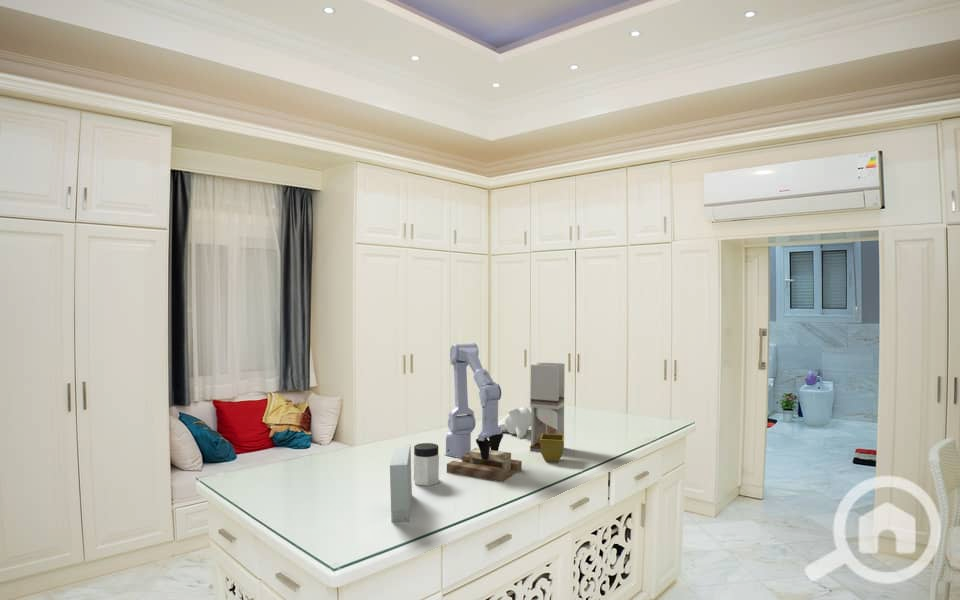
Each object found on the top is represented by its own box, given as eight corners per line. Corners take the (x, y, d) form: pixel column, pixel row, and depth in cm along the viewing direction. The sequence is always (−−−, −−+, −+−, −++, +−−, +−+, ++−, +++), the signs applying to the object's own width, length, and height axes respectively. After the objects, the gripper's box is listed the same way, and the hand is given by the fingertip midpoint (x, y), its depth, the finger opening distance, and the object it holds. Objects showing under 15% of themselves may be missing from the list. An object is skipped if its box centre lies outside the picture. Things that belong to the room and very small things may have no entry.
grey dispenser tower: (530, 451, 224) (530, 364, 224) (537, 444, 234) (538, 362, 234) (557, 454, 220) (558, 366, 220) (563, 447, 230) (564, 363, 230)
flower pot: (563, 464, 206) (563, 440, 206) (539, 462, 208) (539, 438, 208) (564, 457, 215) (564, 434, 215) (541, 456, 217) (541, 433, 217)
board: (446, 472, 195) (446, 463, 195) (467, 460, 210) (467, 452, 210) (503, 481, 186) (503, 473, 186) (521, 469, 200) (521, 460, 200)
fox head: (494, 412, 266) (487, 417, 247) (527, 400, 264) (522, 405, 244) (504, 438, 265) (497, 446, 245) (536, 427, 262) (533, 435, 242)
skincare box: (394, 495, 172) (394, 444, 172) (412, 495, 173) (412, 444, 173) (389, 522, 151) (389, 464, 151) (409, 522, 152) (409, 463, 152)
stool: (510, 469, 196) (511, 452, 196) (505, 473, 191) (505, 456, 191) (475, 464, 202) (475, 447, 202) (469, 468, 197) (469, 451, 197)
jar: (408, 484, 183) (408, 447, 183) (418, 476, 190) (418, 441, 190) (433, 487, 180) (434, 450, 180) (442, 479, 188) (443, 444, 188)
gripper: (491, 423, 188) (491, 463, 188) (508, 415, 201) (508, 453, 201) (473, 421, 192) (472, 460, 192) (491, 413, 205) (490, 450, 205)
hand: (489, 456), depth 197 cm, fingers open, 7 cm apart
